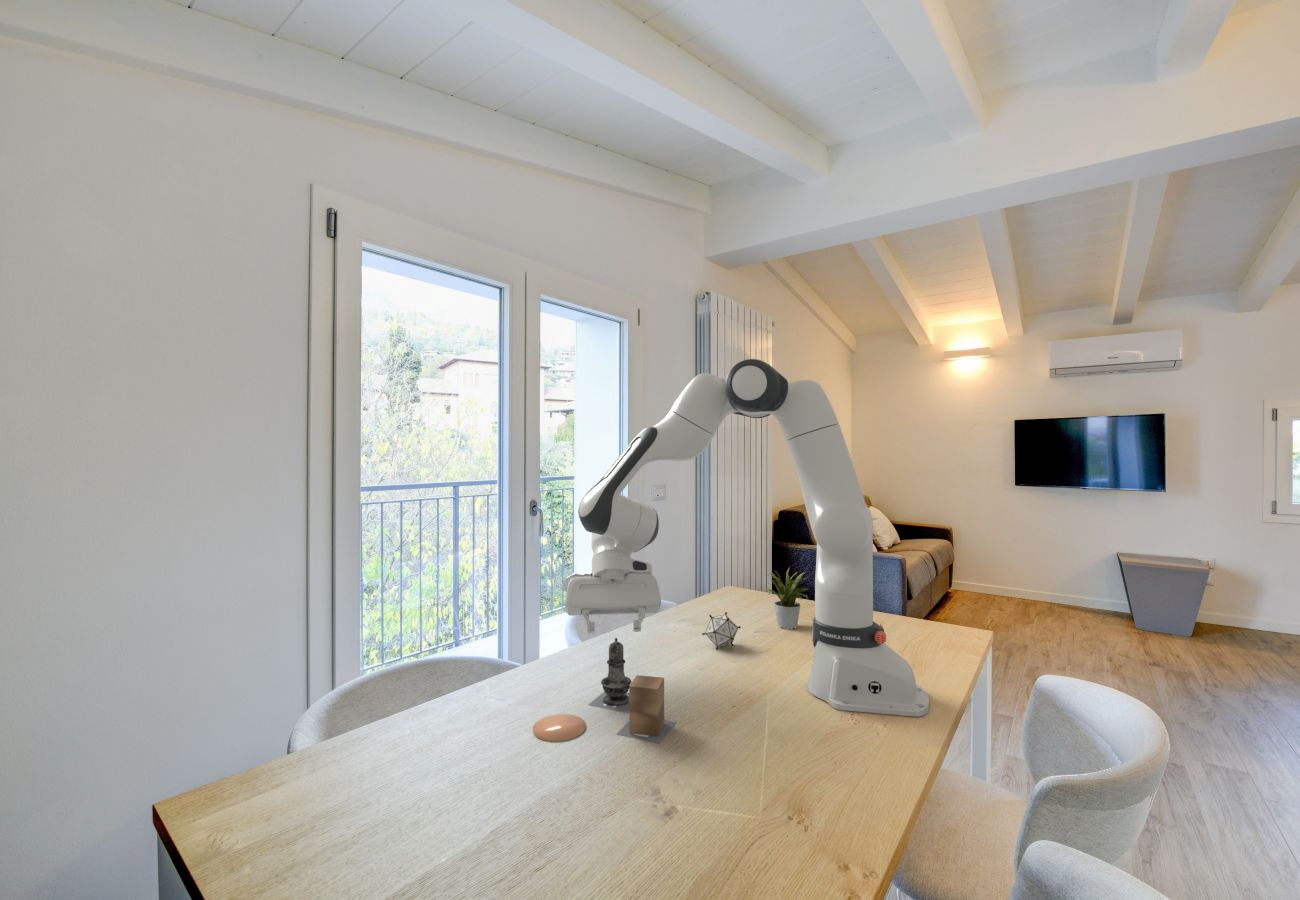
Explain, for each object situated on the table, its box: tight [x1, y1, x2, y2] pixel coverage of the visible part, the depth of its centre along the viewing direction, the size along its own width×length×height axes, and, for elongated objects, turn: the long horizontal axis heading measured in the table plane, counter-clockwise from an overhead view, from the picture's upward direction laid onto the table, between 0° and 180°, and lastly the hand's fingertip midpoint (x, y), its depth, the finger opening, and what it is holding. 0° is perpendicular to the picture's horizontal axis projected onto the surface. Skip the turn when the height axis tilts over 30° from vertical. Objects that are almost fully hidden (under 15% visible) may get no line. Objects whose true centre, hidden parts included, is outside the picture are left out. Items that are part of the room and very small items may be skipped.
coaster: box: [532, 713, 586, 742], centre depth 100 cm, size 9×9×1 cm
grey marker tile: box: [587, 691, 629, 713], centre depth 111 cm, size 8×8×1 cm
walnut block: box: [628, 674, 665, 737], centre depth 100 cm, size 5×5×8 cm
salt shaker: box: [600, 637, 632, 706], centre depth 111 cm, size 6×6×12 cm
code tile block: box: [616, 719, 678, 745], centre depth 100 cm, size 8×8×1 cm
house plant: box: [760, 566, 809, 628], centre depth 158 cm, size 14×14×16 cm
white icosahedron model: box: [701, 611, 742, 650], centre depth 142 cm, size 9×8×10 cm
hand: (614, 631), depth 117 cm, fingers open, 8 cm apart
